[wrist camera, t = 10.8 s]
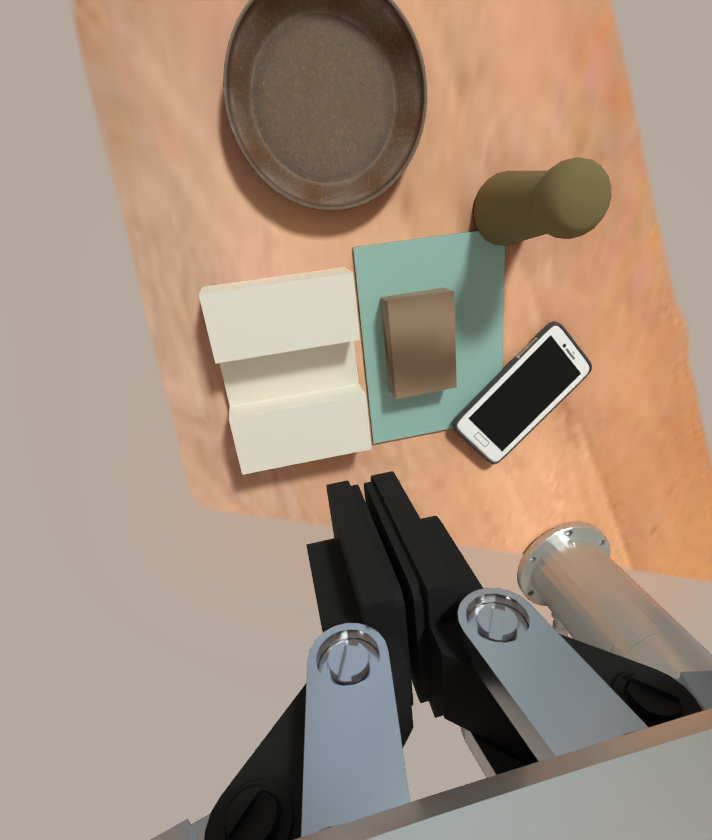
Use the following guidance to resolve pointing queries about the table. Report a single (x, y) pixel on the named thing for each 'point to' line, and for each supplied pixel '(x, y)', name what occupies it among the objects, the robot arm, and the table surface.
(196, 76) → the table surface
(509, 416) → the cell phone
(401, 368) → the brown flat block
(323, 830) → the robot arm
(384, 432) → the mat
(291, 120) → the saucer
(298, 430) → the slotted block
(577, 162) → the pepper mill
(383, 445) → the table surface
